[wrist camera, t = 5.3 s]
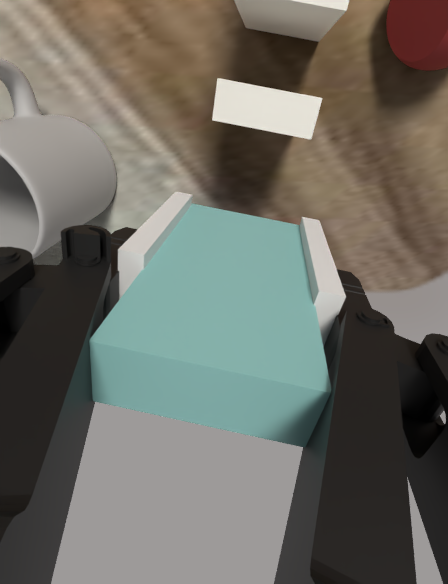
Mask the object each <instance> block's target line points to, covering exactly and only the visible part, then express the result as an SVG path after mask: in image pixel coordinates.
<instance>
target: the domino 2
mask: <svg viewBox="0 0 448 584" xmlns="http://www.w3.org/2000/svg"><path fill="white" fill-rule="evenodd" d="M234 1H235V4H236V6H237V9H238V11H239V13H240V16H241V18H242V20H243V23H244V25H245V27H246V28H248V29H254V30H259V31H264V32H270V33H275V34H280V35H285V36H291V37H296V38H301V39H307V40H312V41H317V42H319V41H320V40H321V39H322V38H323V37H324V35H325V34H326V33H327V32H328V31H329V30H330V29H331V28H332V26H333V25H334V24H335V23H336V22H337V21H338V20H339V19H340V17H341V16H342V15H343V14H344V13H345V12H346V10H347V7H348V3H349V0H234Z"/></svg>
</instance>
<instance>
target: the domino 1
mask: <svg viewBox="0 0 448 584" xmlns="http://www.w3.org/2000/svg"><path fill="white" fill-rule="evenodd" d="M299 226H300V225H296V224H291V223H286V222H281V221H276V220H271V219H266V218H261V217H256V216H251V215H246V214H241V213H236V212H231V211H227V210H222V209H217V208H212V207H207V206H202V205H197V204H191V206H190V208H189V209H188V210H187V212H186V213H185V214H184V216H183V217H182V218H181V220H180V221H179V222H178V224H177V225H176V226H175V228H174V229H173V231H172V232H171V233H170V235H169V236H168V237H167V239H166V240H165V241H164V243H163V244H162V245H161V247H160V248H159V249H158V251H157V252H156V253H155V255H154V256H153V258H152V259H151V260H150V262H149V263H148V264H147V266H146V267H145V268H144V270H141V272H140V273H139V274H138V276H137V277H136V278H135V280H134V281H133V282H132V284H131V285H130V286H129V288H128V289H127V290H126V292H125V293H124V294H123V296H122V297H121V298H120V300H119V301H118V302H117V304H116V305H115V306H114V308H113V309H112V310H111V312H110V313H109V314H108V316H107V317H106V318H105V320H104V321H103V322H102V324H101V325H100V326H99V328H98V329H97V330H96V332H95V333H94V334H93V336H92V337H91V338H90V341H89V344H90V361H91V379H92V396H93V401H95V402H100V403H104V404H109V405H113V406H119V407H123V408H128V409H132V410H136V411H141V412H145V413H150V414H154V415H159V416H164V417H168V418H173V419H178V420H182V421H186V422H192V423H195V424H201V425H205V426H209V427H214V428H218V429H223V430H227V431H232V432H237V433H241V434H246V435H250V436H255V437H260V438H264V439H269V440H273V441H278V442H282V443H287V444H291V445H296V446H300V447H306V445H307V443H308V440H309V438H310V436H311V434H312V432H313V430H314V428H315V426H316V423H317V421H318V419H319V417H320V415H321V413H322V411H323V409H324V407H325V404H326V402H327V400H328V398H329V396H330V394H331V390H332V389H331V384H330V379H329V374H328V369H327V364H326V358H325V353H324V348H323V343H322V338H321V333H320V327H319V322H318V317H317V312H316V307H315V305H314V304H313V298H312V293H311V287H310V282H309V277H308V271H307V266H306V260H305V255H304V250H303V244H302V239H301V233H300V228H299Z"/></svg>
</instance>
